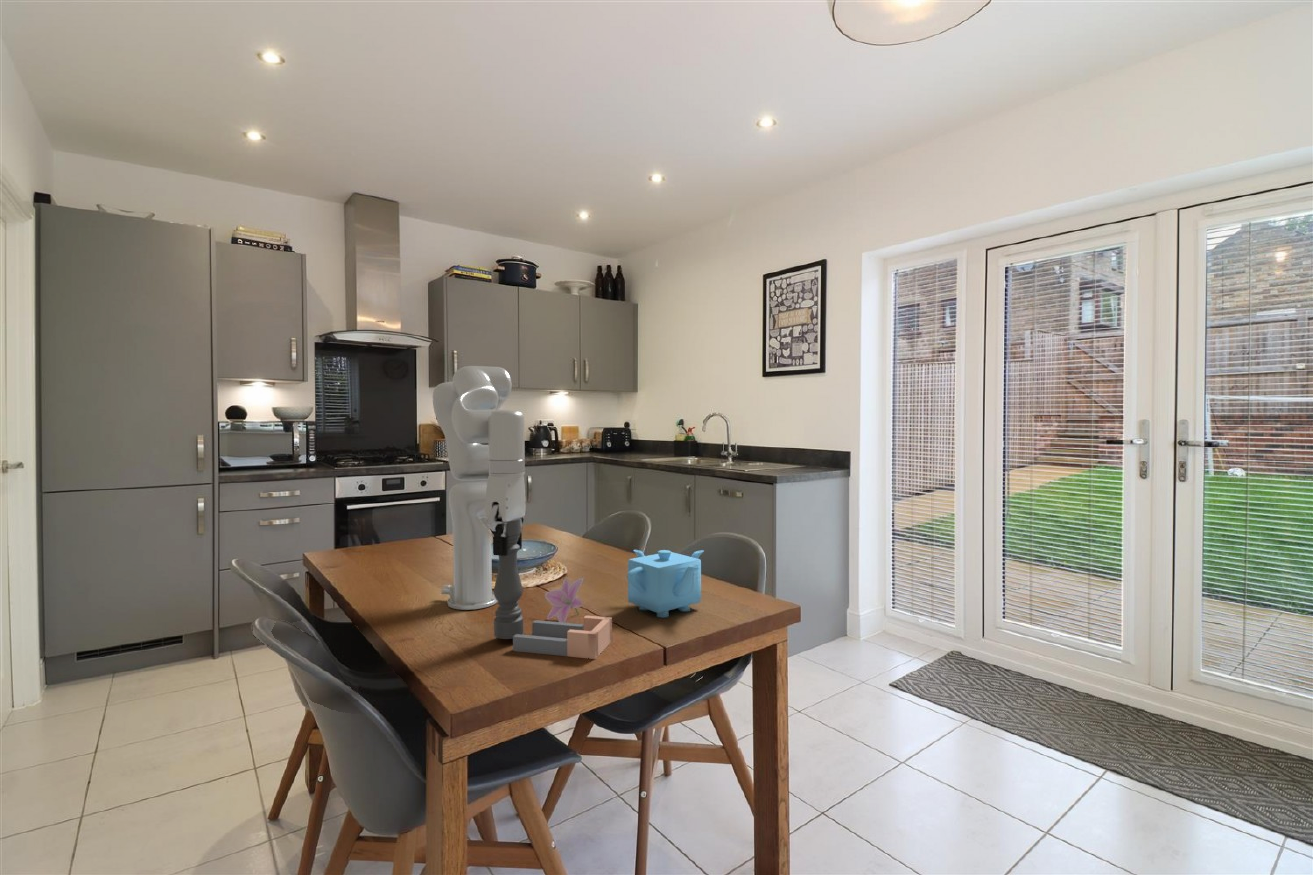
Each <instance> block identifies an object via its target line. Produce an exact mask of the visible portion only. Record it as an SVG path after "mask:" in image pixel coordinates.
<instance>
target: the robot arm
mask: <svg viewBox="0 0 1313 875" xmlns="http://www.w3.org/2000/svg"><path fill="white" fill-rule="evenodd" d="M512 386H513V384H512V378H511V375H510V373H509V372H508V371H507V370H506V369H505V368H503V367H500V366H487V365H486V366H483V365H468V366H463V367H461V368H459V369H457V370H456V371H455V373H454V374H453V376H452V381H447V382H442V383H439V384H437V385H436V386H435V388H434V390H433V392H432V406H433V407H432V408H433V411H434V412H433V413H434V415H435V417H436V420H437V423H438V424H439V427H440V429H441V430H442V434H443V435H444V439H445V446H446V451H447V458H448V465H449V469H450V473H451V475H452V477H453V478H454V479H455V480H458V481H462V482H458V483H457V484H455V485H453V486H452V487H451V488H450V490H449V493H448V505H449V511H450V516H451V525H452V545H453V546H452V549H453V550H452V551H453V552H452V554H453V558H452V559H453V561H452V562H453V565H452V566H453V570H452V571H453V585H452V584H443V585H442V588H441V590H440V592H441V594H442V595H448V596H449V598H447V606H448V607H449V608H451V609H453V610H458V611H459V610H462V611H463V610H464V611H466V610H467V611H469V610H479V609H484V608H485V609H486V608H489V607H491V606H493V605H496V604H498V601H497V600H496V598H495V596H494V592H493V581H492V580H493V579H492V578H493V577H492V576H493V574H492V573H493V570H492V569H493V568H492V567H493V566H492V561H493V560H492V555H493V556H498V557H499V556H506V555H508V536H506V531H507V524H508V522H510V521H512V520H515V519H518V518H521V533H520V537H519V539H518V541H517V544H518V545H519V546H520V550H522V548H523V543H522V542H523V541H522V540H523V537H522V536H523V535H522V534H523V533H522V532H523V529H524V528H523V523H524V520H525V516H526V514H527V511H526V509H527V503H526V502H527V501H526V483H525V478H524V477H525V476H524V475H526V465H525V464H526V462H525V460H526V457H525V456H526V455H525V454H526V450H525V448H526V446H525V441H526V440H525V437H526V436H525V416H524V414H523V412H522V411H520V410H511V409H500V408H501V407H502V406H503V405H504V403H505V402H507V400H508V399H509V397H510V396H511V392H512ZM483 518H484V519H485V522H486V525H487V526H486V525H485V524H484V523H483V521H482V520H481V519H483ZM498 519H502V521H498ZM499 525H502V529H501V528H500V526H499Z"/></svg>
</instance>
